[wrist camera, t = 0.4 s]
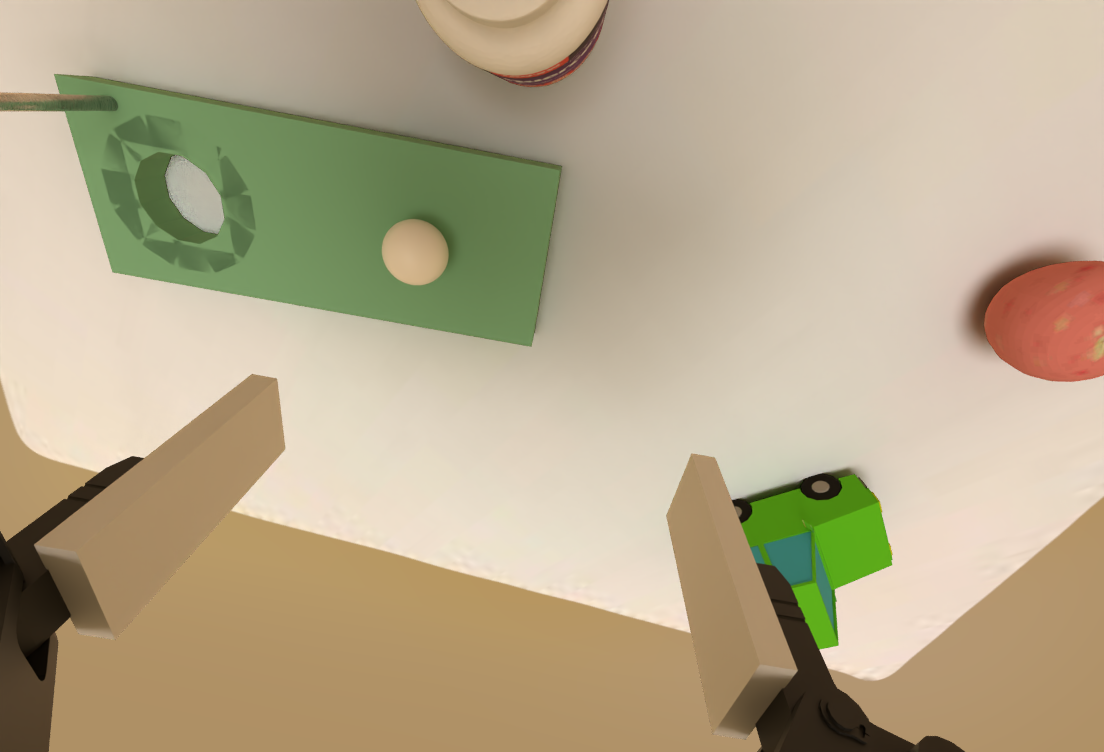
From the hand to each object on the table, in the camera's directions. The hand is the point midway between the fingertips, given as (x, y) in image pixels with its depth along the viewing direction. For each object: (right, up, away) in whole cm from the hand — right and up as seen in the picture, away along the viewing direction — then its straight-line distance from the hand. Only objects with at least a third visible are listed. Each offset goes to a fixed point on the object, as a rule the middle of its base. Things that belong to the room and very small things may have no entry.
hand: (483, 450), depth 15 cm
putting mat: (-13, +13, +18) cm, 26 cm away
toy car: (+24, -11, +30) cm, 40 cm away
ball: (-6, +11, +16) cm, 21 cm away
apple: (+35, +8, +18) cm, 40 cm away
